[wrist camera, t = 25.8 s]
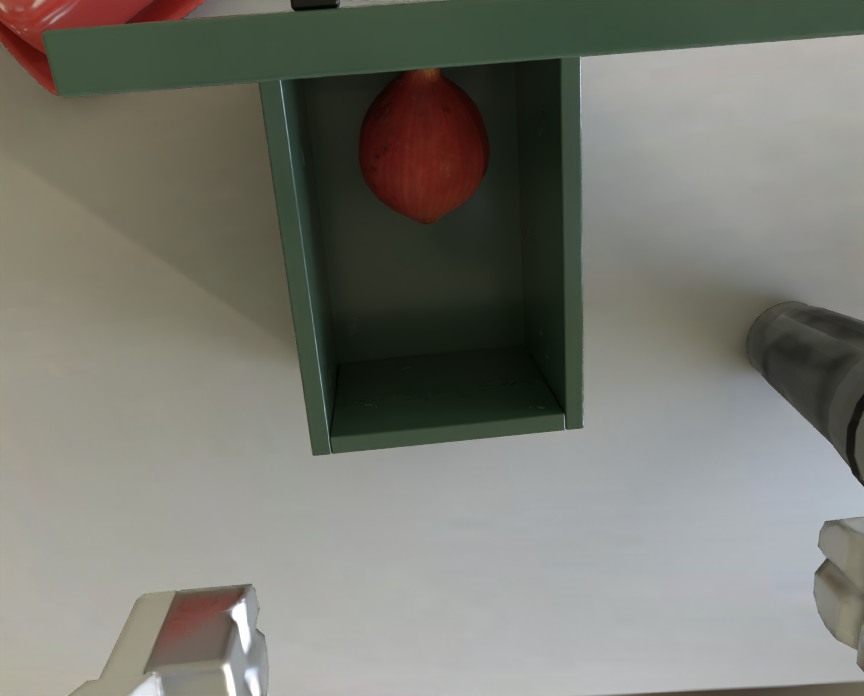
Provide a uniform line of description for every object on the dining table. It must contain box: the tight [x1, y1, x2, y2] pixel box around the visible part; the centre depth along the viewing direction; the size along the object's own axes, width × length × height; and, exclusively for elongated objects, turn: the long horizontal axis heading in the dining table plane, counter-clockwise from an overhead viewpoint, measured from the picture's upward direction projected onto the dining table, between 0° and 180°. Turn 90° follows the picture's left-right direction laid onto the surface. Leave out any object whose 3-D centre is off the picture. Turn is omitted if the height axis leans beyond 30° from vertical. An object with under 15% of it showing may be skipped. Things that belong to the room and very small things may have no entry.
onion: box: [359, 68, 490, 225], centre depth 33 cm, size 6×6×8 cm
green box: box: [259, 57, 584, 456], centre depth 33 cm, size 17×12×10 cm
